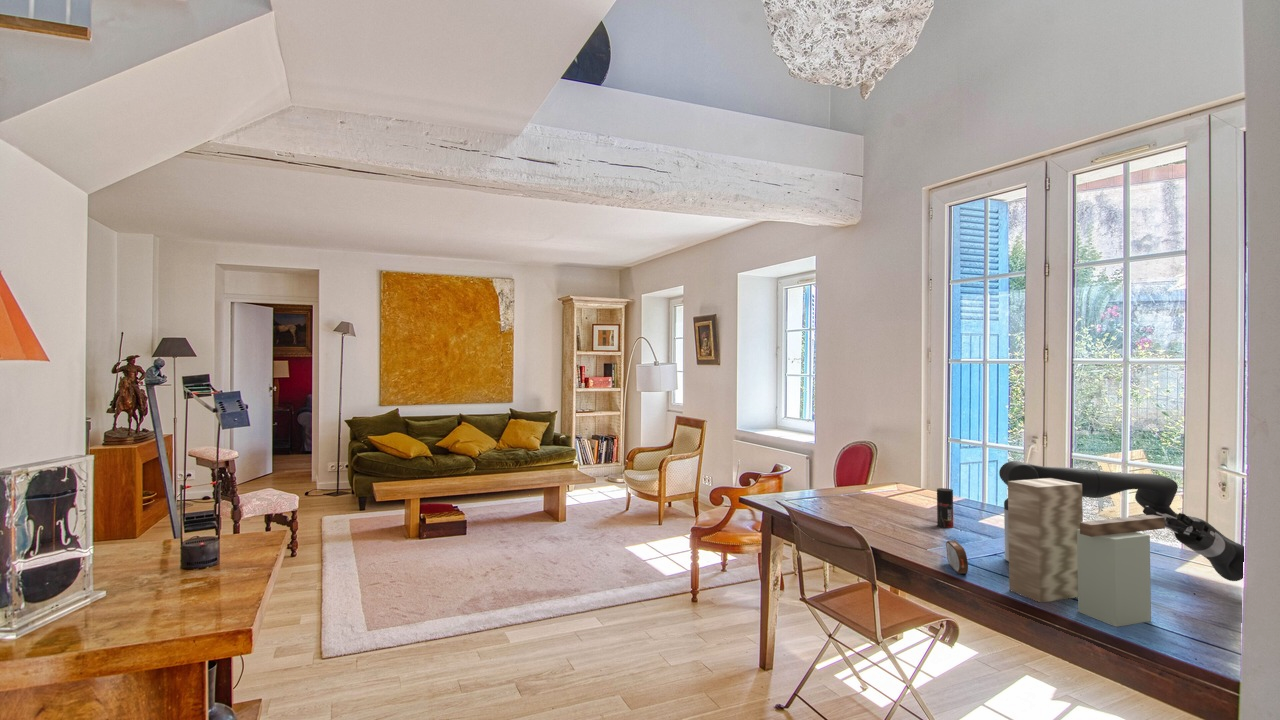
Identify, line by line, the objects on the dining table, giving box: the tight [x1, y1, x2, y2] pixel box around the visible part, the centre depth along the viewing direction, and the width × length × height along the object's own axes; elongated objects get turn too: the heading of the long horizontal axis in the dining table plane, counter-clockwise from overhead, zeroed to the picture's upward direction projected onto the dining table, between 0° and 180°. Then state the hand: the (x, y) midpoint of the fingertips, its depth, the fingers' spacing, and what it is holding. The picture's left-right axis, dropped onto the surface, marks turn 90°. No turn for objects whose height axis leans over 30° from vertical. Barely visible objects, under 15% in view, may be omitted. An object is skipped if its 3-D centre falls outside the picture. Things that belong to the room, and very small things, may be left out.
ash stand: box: [1007, 478, 1084, 603], centre depth 180 cm, size 16×10×32 cm, turn 106°
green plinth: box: [1077, 529, 1152, 628], centre depth 163 cm, size 12×10×22 cm
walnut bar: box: [1080, 514, 1166, 537], centre depth 164 cm, size 26×3×3 cm, turn 106°
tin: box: [945, 539, 969, 575], centre depth 201 cm, size 15×3×8 cm, turn 168°
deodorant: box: [936, 487, 954, 529], centre depth 255 cm, size 6×6×15 cm
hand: (1162, 512), depth 168 cm, fingers open, 8 cm apart
